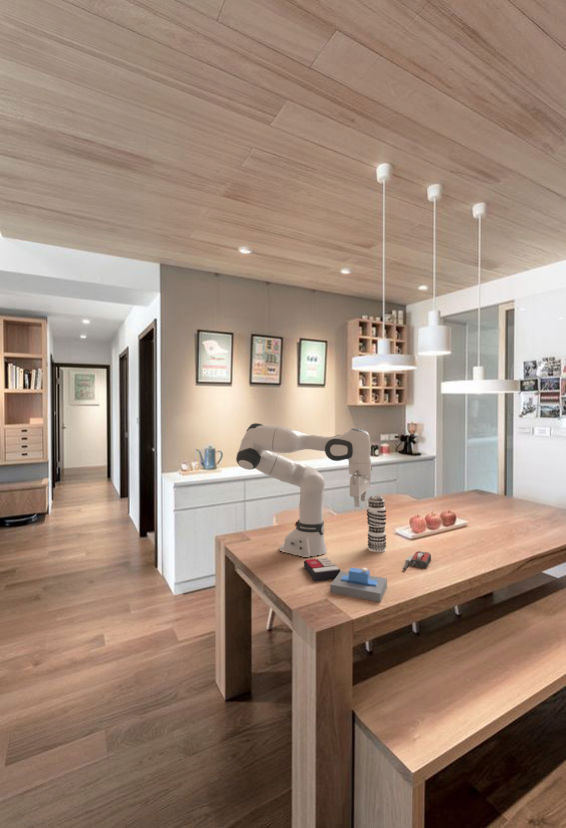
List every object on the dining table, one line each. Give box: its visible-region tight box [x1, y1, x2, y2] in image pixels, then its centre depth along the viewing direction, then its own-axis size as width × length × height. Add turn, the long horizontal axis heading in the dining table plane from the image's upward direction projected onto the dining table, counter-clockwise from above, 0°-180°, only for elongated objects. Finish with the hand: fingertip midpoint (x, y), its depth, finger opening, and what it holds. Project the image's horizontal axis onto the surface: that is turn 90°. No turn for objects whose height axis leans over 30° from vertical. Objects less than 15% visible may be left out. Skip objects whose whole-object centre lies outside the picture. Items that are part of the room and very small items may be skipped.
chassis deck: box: [330, 570, 388, 603], centre depth 145 cm, size 18×13×3 cm
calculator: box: [303, 557, 341, 583], centre depth 161 cm, size 11×4×15 cm
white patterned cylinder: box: [366, 495, 387, 553], centre depth 186 cm, size 9×9×25 cm
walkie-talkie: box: [402, 550, 432, 571], centre depth 167 cm, size 9×4×20 cm
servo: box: [341, 567, 378, 586], centre depth 145 cm, size 13×4×8 cm, turn 66°
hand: (360, 503), depth 156 cm, fingers open, 8 cm apart
